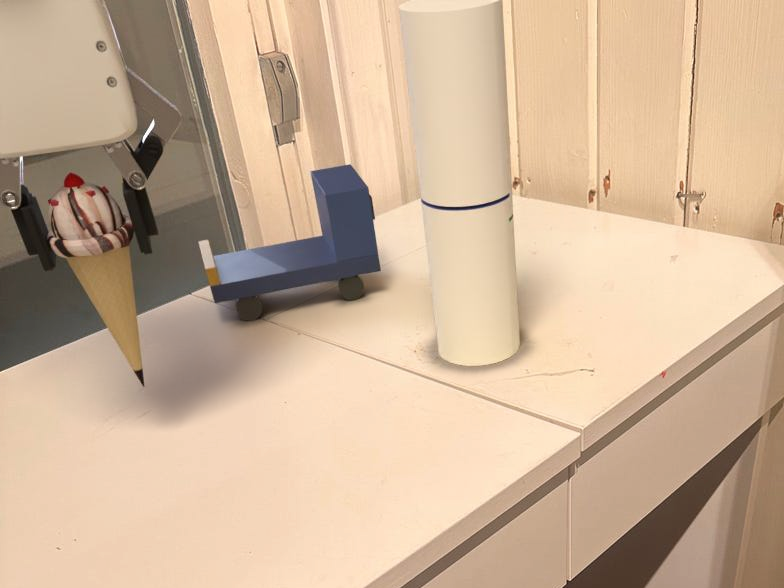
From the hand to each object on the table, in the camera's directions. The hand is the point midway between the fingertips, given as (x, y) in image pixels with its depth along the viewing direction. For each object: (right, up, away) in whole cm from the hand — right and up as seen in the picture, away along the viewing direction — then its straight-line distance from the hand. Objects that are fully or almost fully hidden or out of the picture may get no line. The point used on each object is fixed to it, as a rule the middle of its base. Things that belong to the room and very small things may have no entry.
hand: (98, 252), depth 62 cm
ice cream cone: (+1, -7, +7) cm, 10 cm away
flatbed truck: (+8, +8, +29) cm, 31 cm away
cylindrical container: (+26, -1, +18) cm, 31 cm away
